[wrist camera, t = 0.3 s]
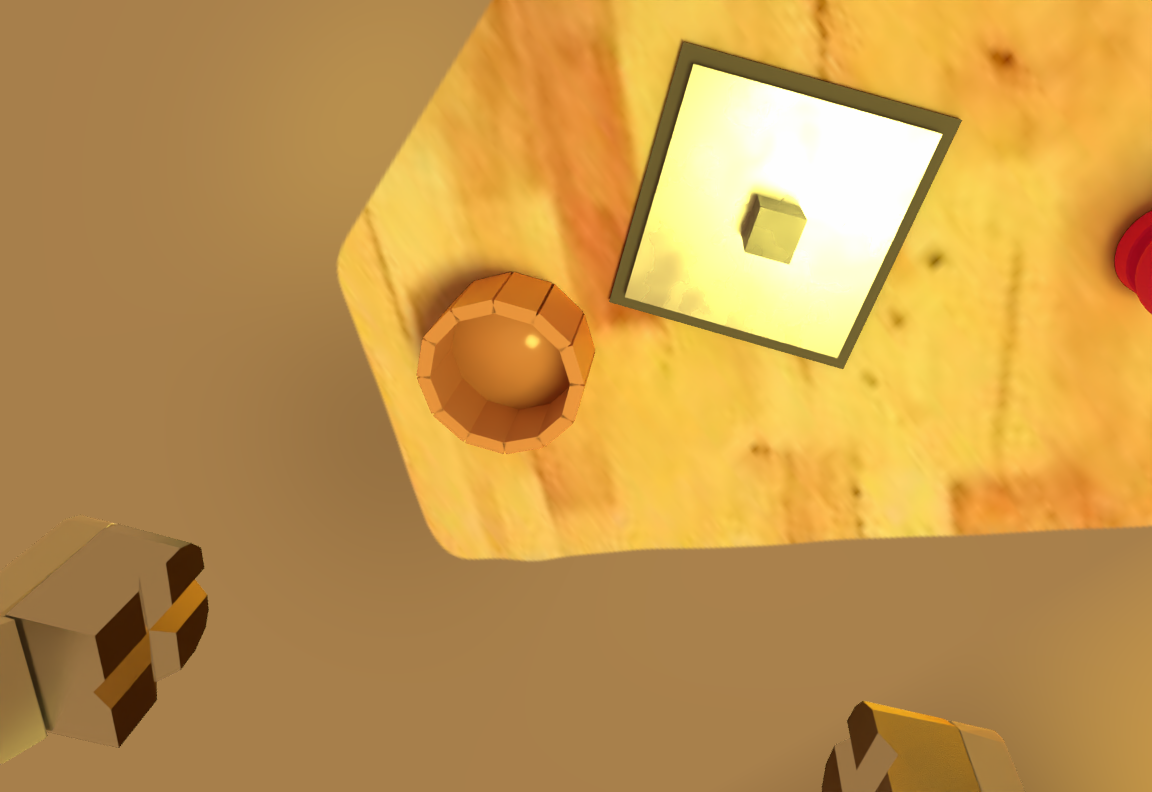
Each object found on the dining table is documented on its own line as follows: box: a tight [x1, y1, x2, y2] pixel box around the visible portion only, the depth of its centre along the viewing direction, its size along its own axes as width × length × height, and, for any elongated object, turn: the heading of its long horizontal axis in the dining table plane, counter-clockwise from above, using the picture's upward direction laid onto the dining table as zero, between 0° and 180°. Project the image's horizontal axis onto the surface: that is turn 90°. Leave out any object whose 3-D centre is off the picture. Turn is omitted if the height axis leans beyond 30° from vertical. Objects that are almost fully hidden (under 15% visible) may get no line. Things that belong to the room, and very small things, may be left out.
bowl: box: [417, 272, 595, 454], centre depth 56 cm, size 12×12×6 cm
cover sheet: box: [625, 63, 942, 358], centre depth 49 cm, size 16×16×4 cm
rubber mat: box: [609, 42, 962, 369], centre depth 51 cm, size 18×18×1 cm
